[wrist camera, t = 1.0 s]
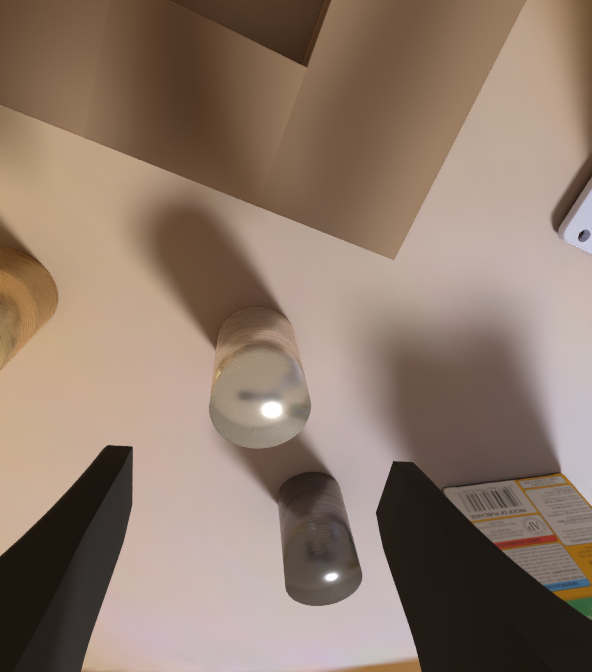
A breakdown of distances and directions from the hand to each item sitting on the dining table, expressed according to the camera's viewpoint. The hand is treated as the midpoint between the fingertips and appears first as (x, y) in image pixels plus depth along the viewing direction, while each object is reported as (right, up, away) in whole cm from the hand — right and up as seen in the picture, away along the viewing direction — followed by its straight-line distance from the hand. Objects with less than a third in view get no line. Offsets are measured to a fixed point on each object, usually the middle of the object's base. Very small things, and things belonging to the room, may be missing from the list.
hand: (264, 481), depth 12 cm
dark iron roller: (+2, -5, +12) cm, 13 cm away
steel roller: (-1, +4, +7) cm, 8 cm away
